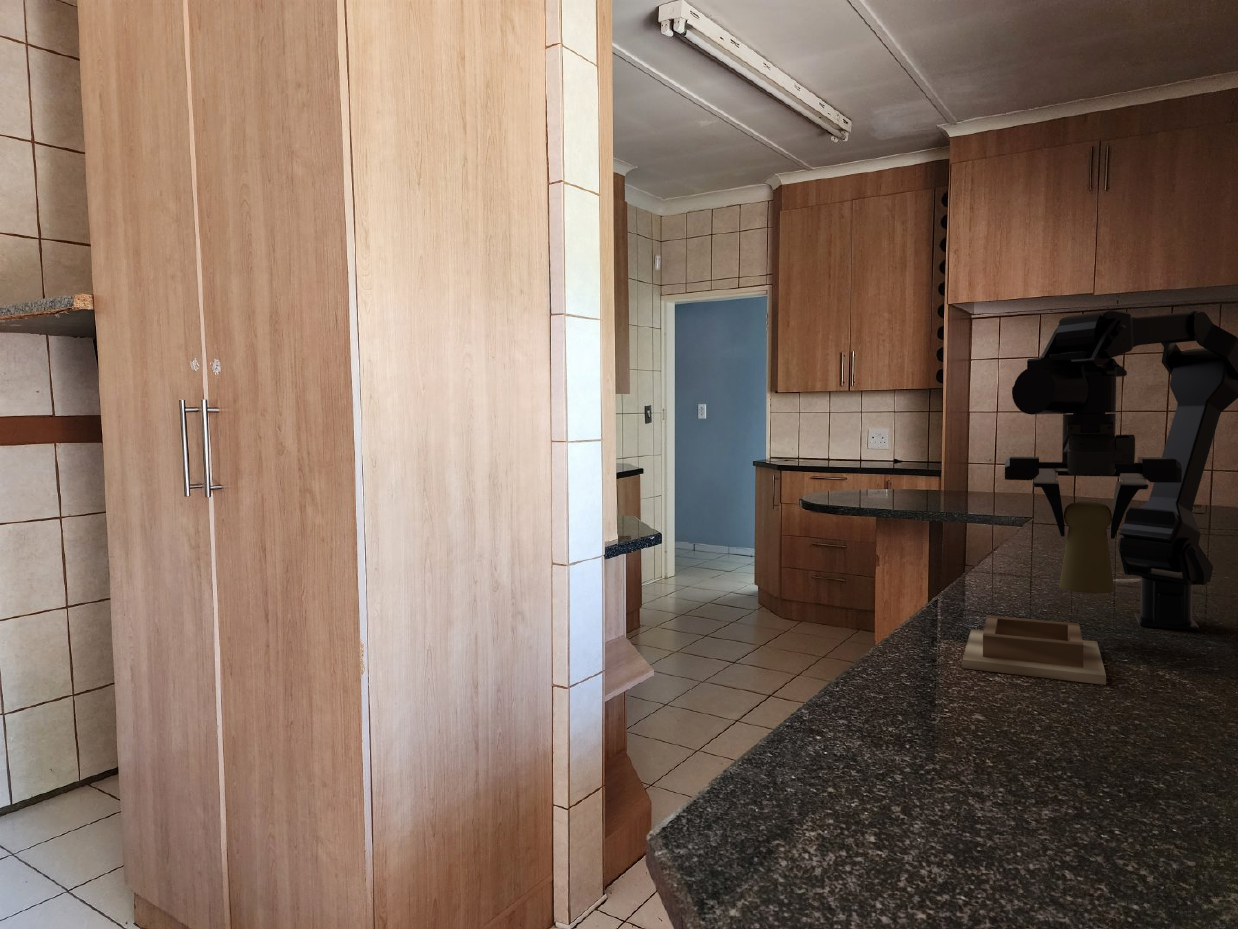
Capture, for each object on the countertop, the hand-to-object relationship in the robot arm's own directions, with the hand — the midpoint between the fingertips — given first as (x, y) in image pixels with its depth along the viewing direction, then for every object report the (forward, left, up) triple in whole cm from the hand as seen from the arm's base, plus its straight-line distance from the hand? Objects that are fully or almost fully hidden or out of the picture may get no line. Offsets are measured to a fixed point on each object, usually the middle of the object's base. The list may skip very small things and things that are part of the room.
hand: (1087, 537), depth 99 cm
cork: (0, 0, -7) cm, 7 cm away
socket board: (+11, -6, -13) cm, 18 cm away
